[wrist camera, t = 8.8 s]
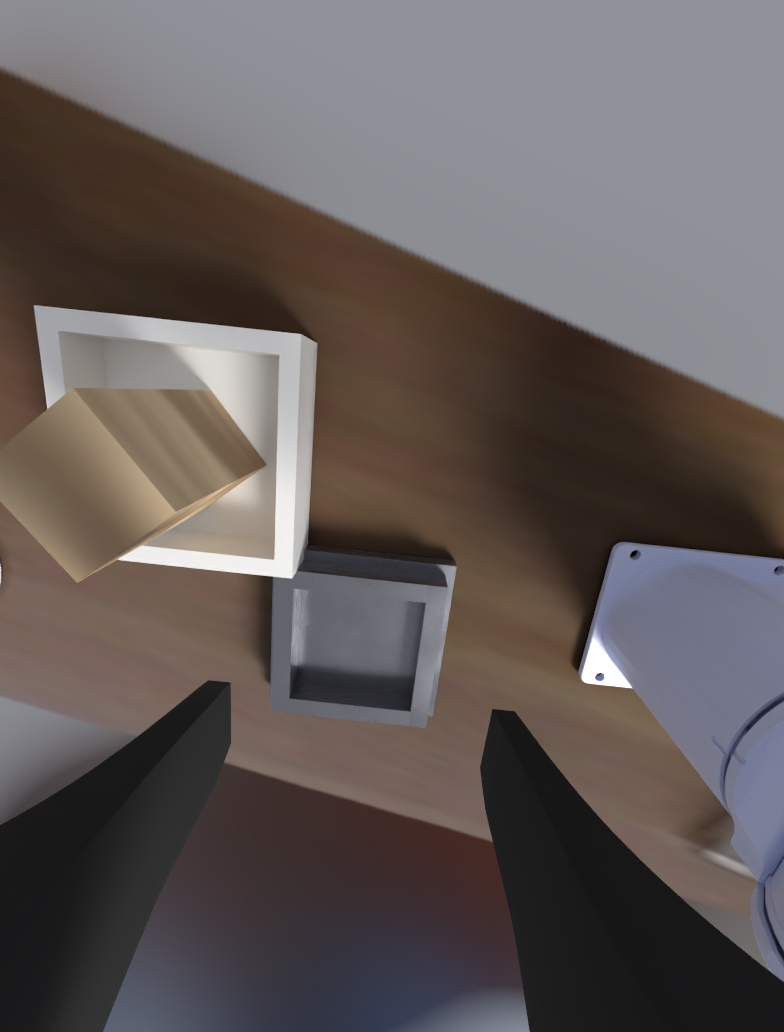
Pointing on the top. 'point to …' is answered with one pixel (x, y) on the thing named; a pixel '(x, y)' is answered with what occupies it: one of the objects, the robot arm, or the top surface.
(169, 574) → the top surface
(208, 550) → the bin tray
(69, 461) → the peg
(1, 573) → the can
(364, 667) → the stud socket
